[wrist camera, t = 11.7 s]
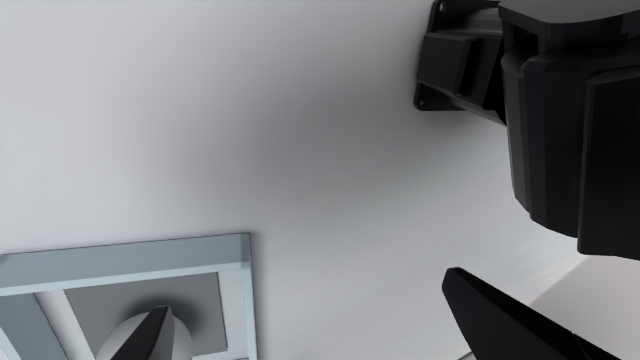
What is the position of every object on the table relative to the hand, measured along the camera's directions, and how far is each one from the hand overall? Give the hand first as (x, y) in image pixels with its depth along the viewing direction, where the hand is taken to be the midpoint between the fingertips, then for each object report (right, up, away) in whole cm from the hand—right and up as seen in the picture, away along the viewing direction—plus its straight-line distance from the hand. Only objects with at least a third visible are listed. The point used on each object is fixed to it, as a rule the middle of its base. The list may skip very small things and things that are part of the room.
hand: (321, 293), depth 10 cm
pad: (-13, -7, +15) cm, 21 cm away
